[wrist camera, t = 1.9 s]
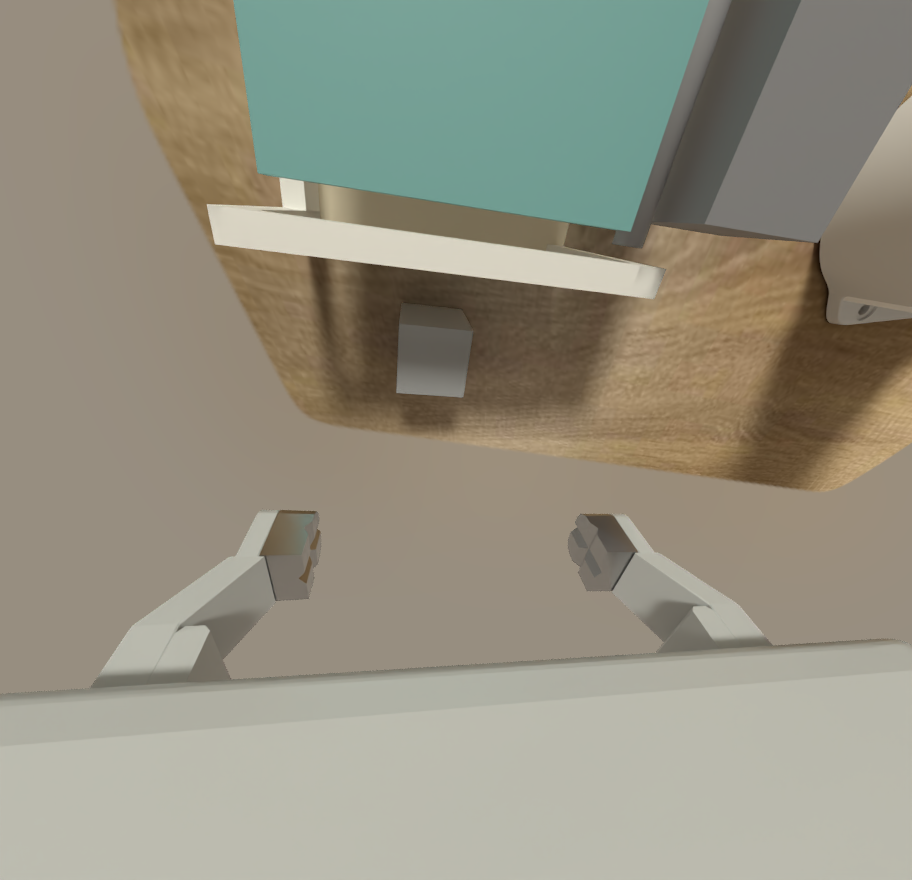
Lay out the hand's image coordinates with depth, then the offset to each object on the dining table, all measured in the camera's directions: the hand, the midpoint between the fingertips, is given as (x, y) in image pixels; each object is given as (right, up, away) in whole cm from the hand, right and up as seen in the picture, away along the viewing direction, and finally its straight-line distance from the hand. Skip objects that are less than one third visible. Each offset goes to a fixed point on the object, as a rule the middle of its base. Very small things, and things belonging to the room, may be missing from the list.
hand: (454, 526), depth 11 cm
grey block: (-2, +11, +17) cm, 20 cm away
